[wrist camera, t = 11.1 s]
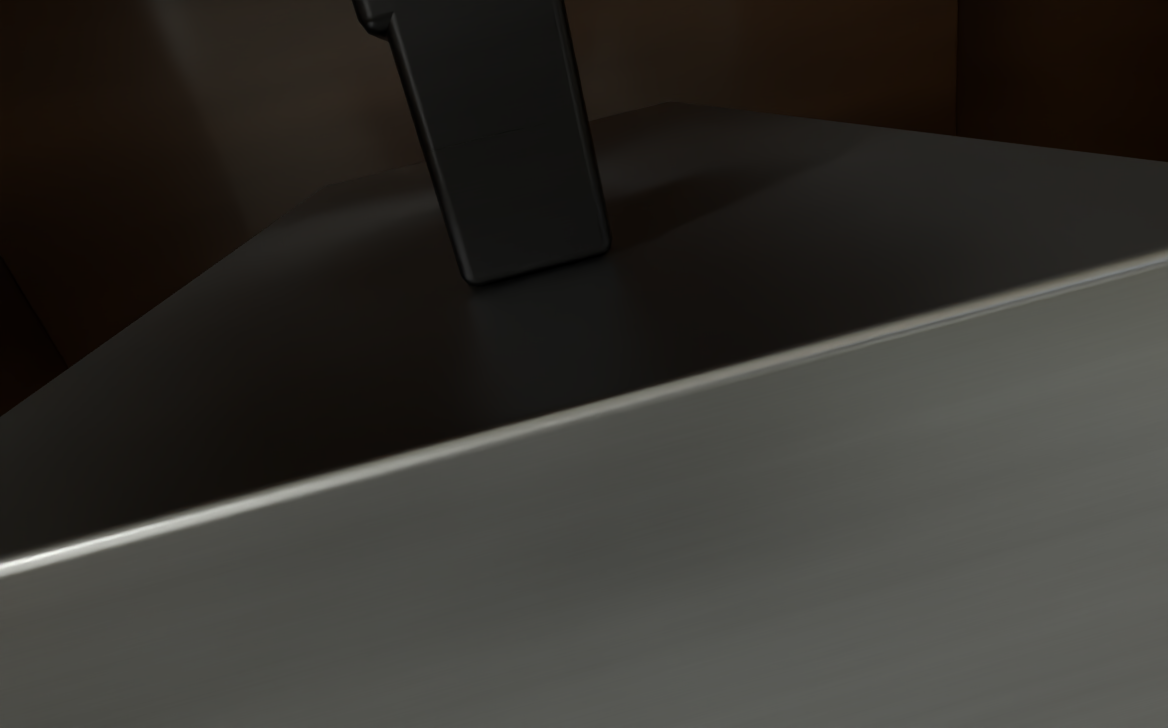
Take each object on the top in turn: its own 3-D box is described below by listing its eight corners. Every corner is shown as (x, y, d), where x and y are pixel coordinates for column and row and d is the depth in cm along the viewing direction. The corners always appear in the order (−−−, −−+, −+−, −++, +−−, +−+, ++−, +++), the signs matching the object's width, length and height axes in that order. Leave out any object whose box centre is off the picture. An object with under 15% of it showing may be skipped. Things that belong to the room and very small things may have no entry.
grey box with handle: (630, 1532, 8) (-1333, -219, 1) (553, 800, 16) (267, 43, 9) (1056, 1385, 8) (1715, -824, 1) (769, 737, 17) (650, -49, 10)
